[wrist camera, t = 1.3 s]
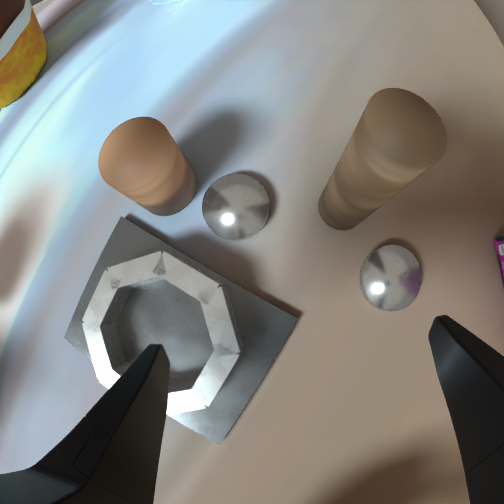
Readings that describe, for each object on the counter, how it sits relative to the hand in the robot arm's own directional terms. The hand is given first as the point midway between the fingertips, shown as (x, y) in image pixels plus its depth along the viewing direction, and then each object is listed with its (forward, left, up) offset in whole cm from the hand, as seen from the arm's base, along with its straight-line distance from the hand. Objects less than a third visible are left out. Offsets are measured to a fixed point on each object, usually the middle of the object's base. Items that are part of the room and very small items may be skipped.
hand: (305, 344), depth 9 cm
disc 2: (-6, -6, -14) cm, 16 cm away
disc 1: (+7, -5, -14) cm, 16 cm away
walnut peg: (0, -9, -13) cm, 16 cm away
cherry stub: (+13, -4, -13) cm, 19 cm away
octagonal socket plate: (+7, +6, -13) cm, 16 cm away
